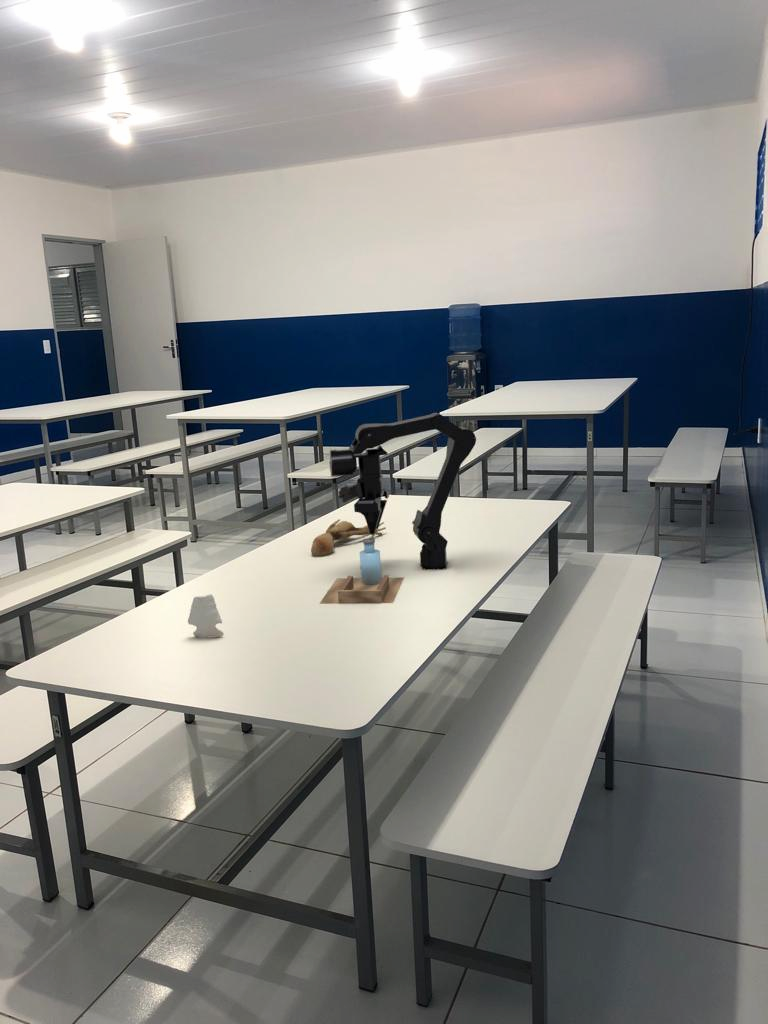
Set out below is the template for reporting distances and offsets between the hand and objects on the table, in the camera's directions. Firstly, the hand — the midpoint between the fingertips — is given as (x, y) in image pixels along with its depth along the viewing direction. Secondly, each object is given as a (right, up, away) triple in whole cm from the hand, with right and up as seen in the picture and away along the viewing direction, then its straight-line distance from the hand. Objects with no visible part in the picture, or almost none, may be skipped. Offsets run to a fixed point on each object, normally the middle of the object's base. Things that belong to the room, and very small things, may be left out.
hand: (374, 530), depth 223 cm
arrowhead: (-37, -23, -35) cm, 56 cm away
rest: (-3, -15, -12) cm, 19 cm away
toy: (-11, -5, +37) cm, 39 cm away
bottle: (-1, -13, -6) cm, 14 cm away
